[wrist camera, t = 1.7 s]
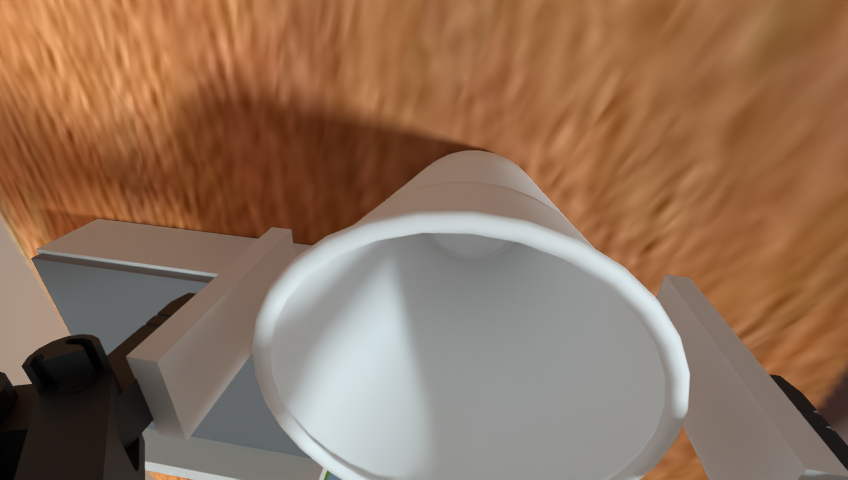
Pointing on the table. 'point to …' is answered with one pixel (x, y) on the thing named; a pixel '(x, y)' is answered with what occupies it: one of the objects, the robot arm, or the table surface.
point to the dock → (141, 300)
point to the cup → (469, 341)
